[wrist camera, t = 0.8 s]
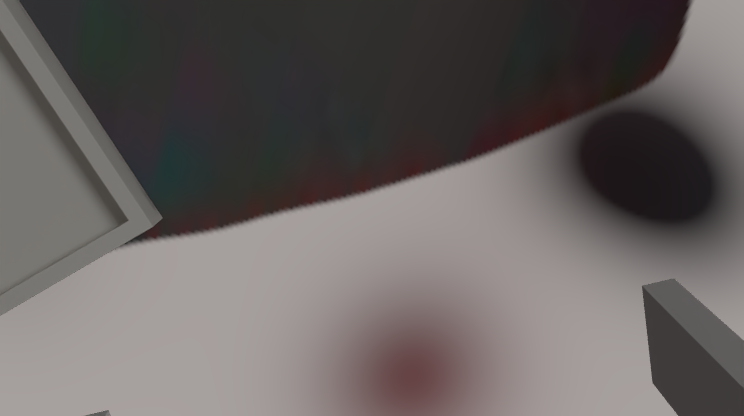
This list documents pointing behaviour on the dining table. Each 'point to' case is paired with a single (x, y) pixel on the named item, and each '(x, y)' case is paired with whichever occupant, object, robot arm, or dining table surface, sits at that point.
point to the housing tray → (55, 170)
